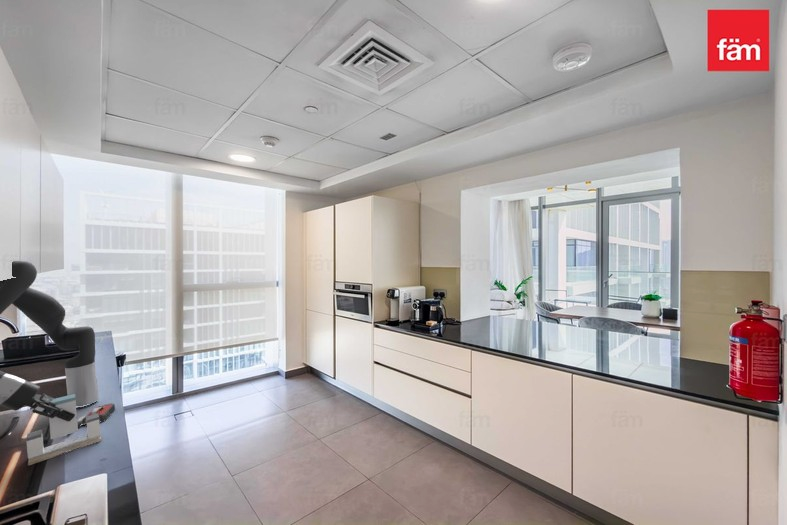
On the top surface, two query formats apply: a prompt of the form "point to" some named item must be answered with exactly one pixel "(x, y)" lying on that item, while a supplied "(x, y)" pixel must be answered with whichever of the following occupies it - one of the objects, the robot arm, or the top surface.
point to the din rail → (64, 445)
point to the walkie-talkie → (102, 412)
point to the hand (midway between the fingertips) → (72, 415)
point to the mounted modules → (36, 437)
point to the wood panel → (62, 451)
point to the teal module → (59, 425)
